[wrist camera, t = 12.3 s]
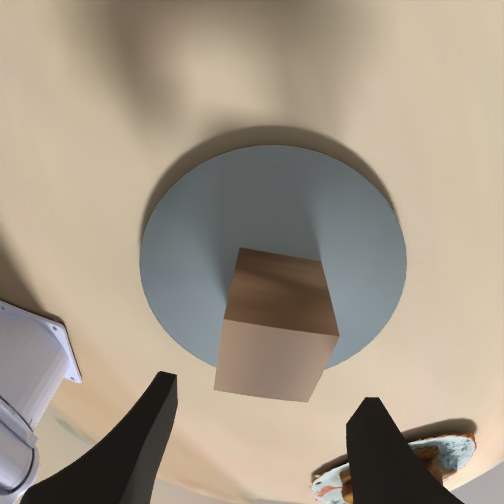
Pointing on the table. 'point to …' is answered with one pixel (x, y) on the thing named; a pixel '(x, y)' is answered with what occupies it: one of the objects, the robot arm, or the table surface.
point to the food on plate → (428, 451)
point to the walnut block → (276, 327)
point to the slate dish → (271, 242)
